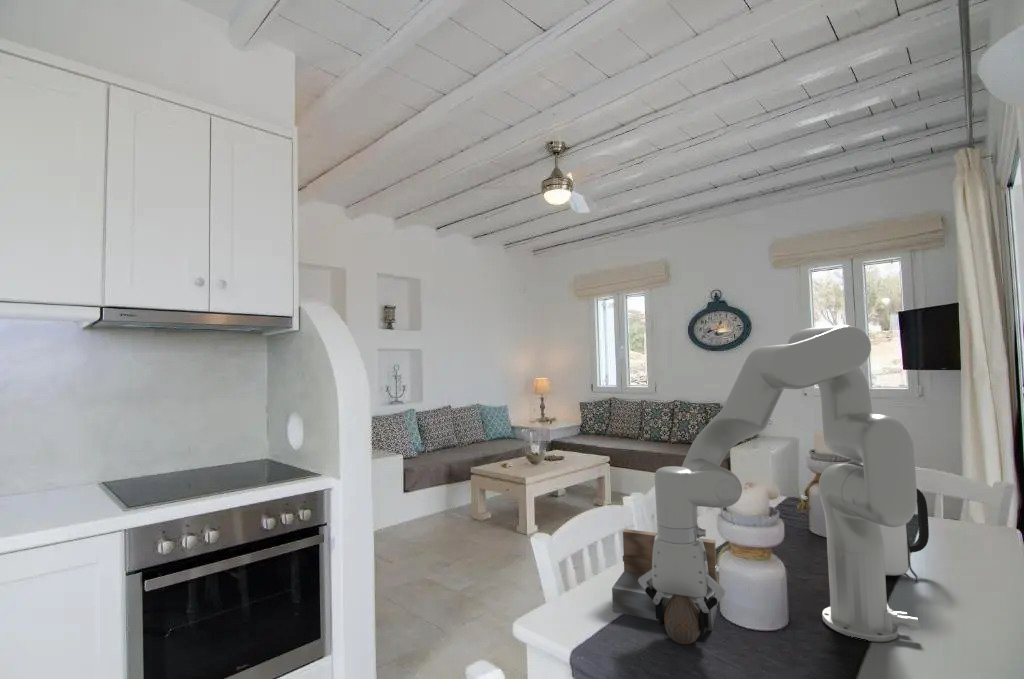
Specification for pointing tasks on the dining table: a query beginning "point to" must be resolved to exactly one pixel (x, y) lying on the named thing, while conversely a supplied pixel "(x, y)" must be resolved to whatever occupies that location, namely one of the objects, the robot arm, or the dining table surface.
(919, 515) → the coffee press
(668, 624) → the vase
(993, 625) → the dining table surface
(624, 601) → the wall shelf
